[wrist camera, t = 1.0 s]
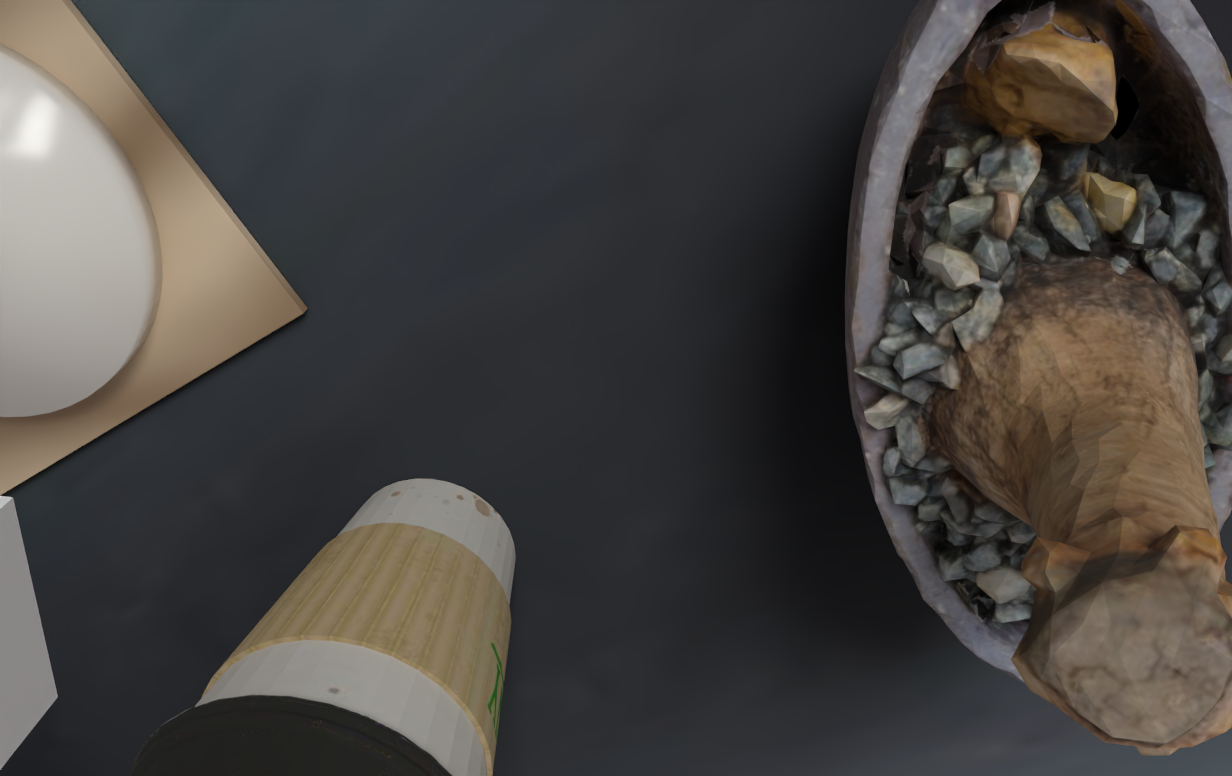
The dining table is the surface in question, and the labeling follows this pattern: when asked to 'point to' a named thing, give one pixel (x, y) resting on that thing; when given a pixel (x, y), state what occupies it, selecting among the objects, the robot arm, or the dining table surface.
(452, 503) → the coffee cup
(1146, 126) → the planter
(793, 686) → the dining table surface
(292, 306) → the mat
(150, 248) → the lid
